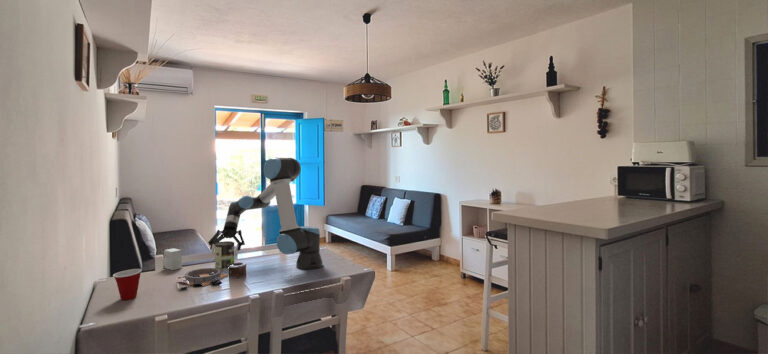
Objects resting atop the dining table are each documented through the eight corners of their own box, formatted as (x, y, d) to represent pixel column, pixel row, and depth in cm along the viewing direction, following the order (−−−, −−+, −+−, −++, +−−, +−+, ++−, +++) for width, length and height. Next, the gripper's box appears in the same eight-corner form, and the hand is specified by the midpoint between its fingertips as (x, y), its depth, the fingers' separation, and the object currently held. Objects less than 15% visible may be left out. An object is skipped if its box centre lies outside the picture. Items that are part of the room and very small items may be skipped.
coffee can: (237, 265, 224) (237, 241, 223) (230, 270, 214) (229, 245, 213) (219, 264, 224) (219, 241, 224) (211, 269, 214) (211, 245, 213)
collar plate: (228, 276, 204) (228, 269, 203) (204, 286, 187) (204, 279, 187) (202, 272, 209) (202, 266, 208) (176, 282, 192) (176, 275, 192)
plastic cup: (122, 293, 176) (121, 268, 175) (147, 293, 177) (146, 268, 176) (107, 302, 165) (106, 275, 164) (133, 302, 166) (133, 275, 165)
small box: (182, 268, 216) (181, 249, 216) (172, 270, 212) (171, 251, 211) (174, 265, 221) (173, 247, 220) (164, 268, 216) (164, 249, 215)
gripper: (253, 227, 236) (247, 258, 222) (211, 227, 234) (202, 258, 220) (251, 220, 231) (244, 251, 217) (208, 220, 228) (199, 251, 214)
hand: (223, 255), depth 218 cm, fingers open, 13 cm apart
